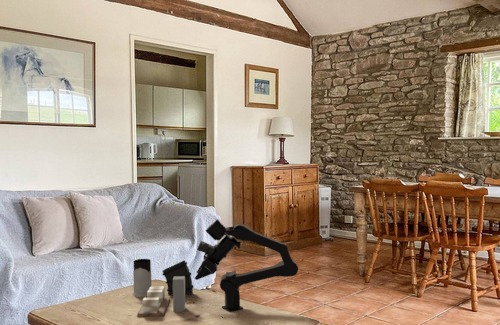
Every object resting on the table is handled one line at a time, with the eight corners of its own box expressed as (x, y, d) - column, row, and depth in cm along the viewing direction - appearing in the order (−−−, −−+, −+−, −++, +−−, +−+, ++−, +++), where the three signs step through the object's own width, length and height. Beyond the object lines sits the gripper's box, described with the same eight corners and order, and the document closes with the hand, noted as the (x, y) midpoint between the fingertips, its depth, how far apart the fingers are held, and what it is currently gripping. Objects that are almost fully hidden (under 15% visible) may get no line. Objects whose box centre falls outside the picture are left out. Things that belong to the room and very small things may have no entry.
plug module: (185, 307, 198) (184, 276, 197) (184, 311, 193) (183, 279, 193) (174, 307, 197) (173, 276, 197) (172, 311, 193) (172, 279, 193)
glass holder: (130, 296, 213) (129, 263, 212) (138, 287, 227) (138, 255, 227) (150, 296, 213) (149, 263, 212) (157, 287, 227) (156, 255, 226)
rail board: (169, 299, 208) (169, 285, 208) (163, 316, 188) (162, 300, 188) (146, 300, 208) (146, 285, 208) (137, 316, 188) (137, 300, 188)
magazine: (197, 292, 213) (183, 261, 213) (172, 303, 215) (157, 273, 216) (200, 289, 216) (185, 259, 217) (174, 301, 219) (160, 271, 219)
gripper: (210, 230, 204) (184, 257, 204) (207, 239, 185) (179, 268, 185) (229, 248, 205) (203, 275, 205) (228, 258, 186) (200, 288, 186)
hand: (196, 276), depth 195 cm, fingers open, 9 cm apart
